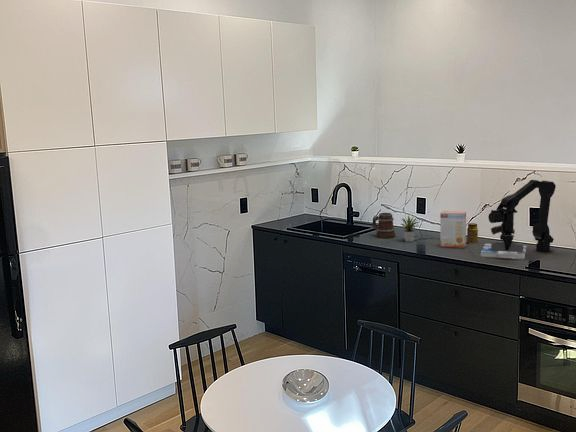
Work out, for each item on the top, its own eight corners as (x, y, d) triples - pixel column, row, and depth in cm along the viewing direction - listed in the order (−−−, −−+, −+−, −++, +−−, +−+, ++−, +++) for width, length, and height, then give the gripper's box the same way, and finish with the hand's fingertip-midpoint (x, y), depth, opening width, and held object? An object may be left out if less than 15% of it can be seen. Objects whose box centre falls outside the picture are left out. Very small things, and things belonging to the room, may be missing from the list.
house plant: (410, 244, 360) (410, 218, 357) (392, 241, 370) (392, 215, 367) (424, 240, 369) (424, 214, 366) (406, 237, 379) (406, 212, 376)
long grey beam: (523, 250, 321) (523, 243, 320) (522, 252, 317) (522, 245, 317) (491, 248, 327) (491, 241, 327) (491, 250, 324) (491, 243, 323)
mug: (398, 235, 386) (398, 212, 383) (389, 239, 376) (389, 216, 374) (376, 233, 395) (376, 211, 393) (367, 236, 386) (367, 214, 383)
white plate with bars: (526, 251, 334) (526, 243, 333) (524, 260, 314) (524, 252, 313) (484, 248, 343) (485, 241, 342) (480, 258, 323) (480, 250, 322)
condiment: (480, 243, 355) (481, 223, 353) (471, 245, 351) (471, 225, 349) (470, 241, 361) (471, 222, 359) (461, 243, 357) (461, 224, 355)
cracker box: (466, 246, 351) (466, 211, 347) (464, 248, 345) (465, 213, 341) (442, 244, 356) (442, 210, 353) (440, 247, 351) (440, 212, 347)
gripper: (493, 217, 331) (493, 244, 334) (490, 224, 314) (489, 252, 317) (515, 218, 327) (514, 245, 329) (512, 224, 310) (512, 254, 313)
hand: (507, 249), depth 322 cm, fingers closed on long grey beam, 4 cm apart
